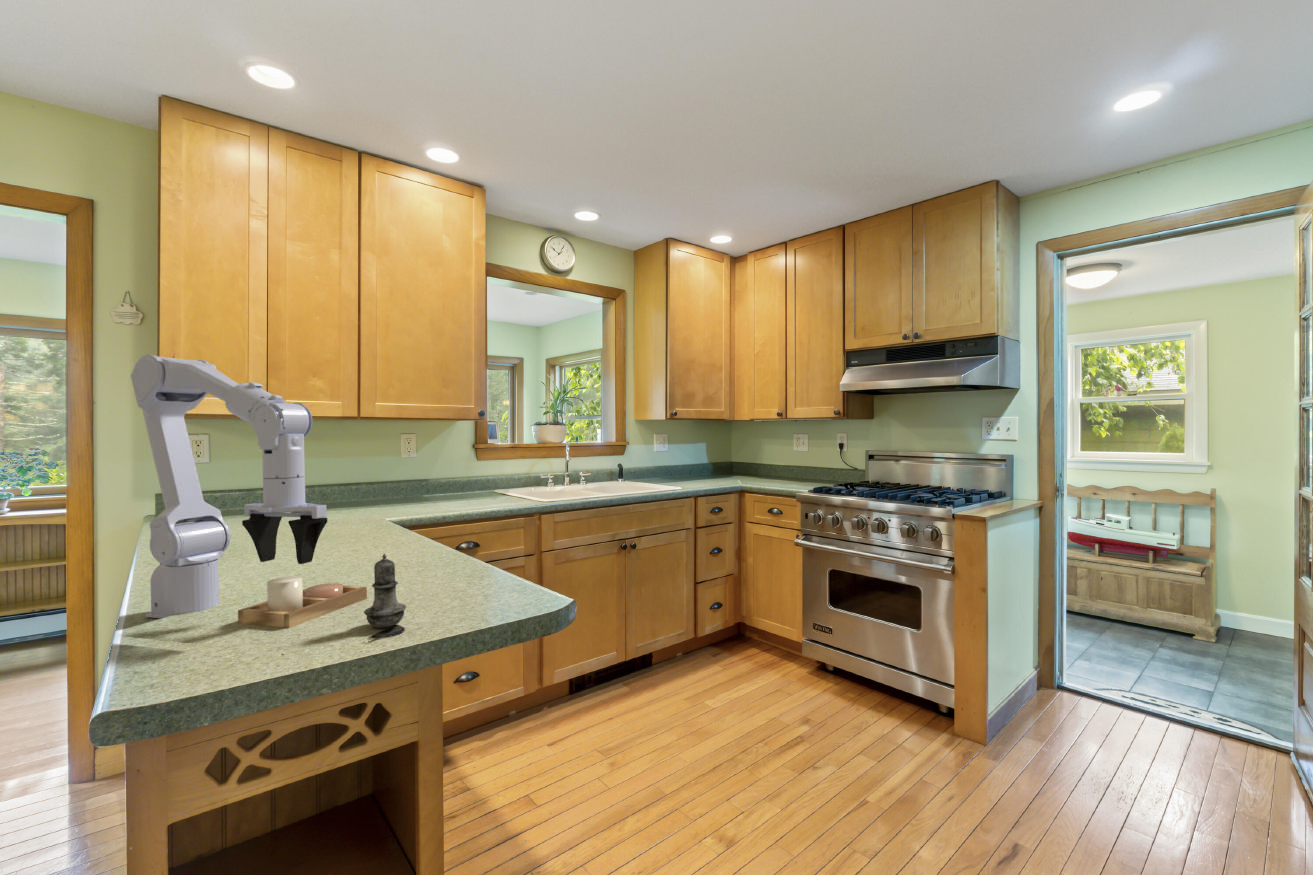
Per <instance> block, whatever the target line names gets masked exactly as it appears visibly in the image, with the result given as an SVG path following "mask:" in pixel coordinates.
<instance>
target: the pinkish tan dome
mask: <svg viewBox="0 0 1313 875" xmlns="http://www.w3.org/2000/svg"><path fill="white" fill-rule="evenodd" d="M343 586H344V585H343V583H336V582H335V583H334V582H332V583H331V582H328V583H321V584H316V585H311V586H310V587H307V588H305V589H306V597H314V598H328V599H329V598H331V597H334V596H337V595H340V594H343Z"/></svg>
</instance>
